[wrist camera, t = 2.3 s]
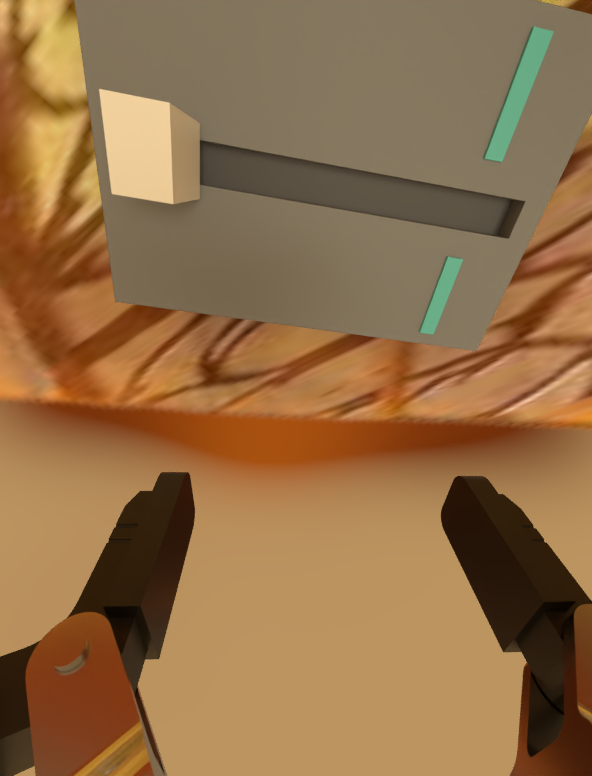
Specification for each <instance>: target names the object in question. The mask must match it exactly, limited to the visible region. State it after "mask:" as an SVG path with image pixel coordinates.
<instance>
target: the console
mask: <svg viewBox="0 0 592 776" xmlns="http://www.w3.org/2000/svg"><path fill="white" fill-rule="evenodd" d="M75 8H76V15H77V23H78V30H79V37H80V45H81V52H82V59H83V67H84V74H85V82H86V89H87V96H88V104H89V111H90V118H91V126H92V133H93V140H94V148H95V155H96V163H97V170H98V177H99V185H100V192H101V199H102V207H103V214H104V221H105V229H106V236H107V244H108V251H109V258H110V266H111V273H112V280H113V288H114V295H115V302H122V303H129V304H136V305H143V306H151V307H158V308H165V309H173V310H180V311H187V312H195V313H202V314H209V315H217V316H224V317H231V318H238V319H246V320H253V321H260V322H268V323H275V324H282V325H290V326H297V327H304V328H312V329H319V330H326V331H333V332H341V333H348V334H355V335H363V336H370V337H377V338H385V339H392V340H399V341H407V342H414V343H421V344H428V345H436V346H443V347H450V348H458V349H465V350H472V351H477V349H478V347H479V345H480V343H481V340H482V338H483V336H484V334H485V332H486V330H487V328H488V326H489V324H490V322H491V320H492V318H493V316H494V314H495V312H496V310H497V307H498V305H499V303H500V301H501V299H502V297H503V295H504V293H505V291H506V289H507V287H508V285H509V283H510V281H511V279H512V277H513V274H514V272H515V270H516V268H517V266H518V264H519V262H520V260H521V258H522V256H523V254H524V252H525V250H526V248H527V246H528V244H529V241H530V239H531V237H532V235H533V233H534V231H535V229H536V227H537V225H538V223H539V221H540V219H541V217H542V215H543V213H544V211H545V208H546V206H547V204H548V202H549V200H550V198H551V196H552V194H553V192H554V190H555V188H556V186H557V184H558V182H559V180H560V178H561V175H562V173H563V171H564V169H565V167H566V165H567V163H568V161H569V159H570V157H571V155H572V153H573V151H574V149H575V147H576V145H577V142H578V140H579V138H580V136H581V134H582V132H583V130H584V128H585V126H586V124H587V122H588V120H589V118H590V116H591V114H592V14H588V13H584V12H580V11H576V10H572V9H568V8H565V7H561V6H557V5H553V4H549V3H545V2H541V1H537V0H75ZM99 89H103V90H108V91H113V92H118V93H123V94H128V95H133V96H138V97H143V98H148V99H153V100H158V101H163V102H168V103H171V104H172V105H174V106H175V107H177V108H178V109H180V110H181V111H183V112H184V113H186V114H187V115H189V116H190V117H192V118H193V119H195V120H196V121H197V122H199V123H200V199H198V200H192V201H187V202H182V203H177V204H169V203H163V202H157V201H151V200H145V199H139V198H133V197H127V196H121V195H115V194H112V192H111V184H110V176H109V168H108V159H107V151H106V143H105V134H104V126H103V118H102V110H101V101H100V93H99Z"/></svg>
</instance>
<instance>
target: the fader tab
mask: <svg viewBox="0 0 592 776" xmlns="http://www.w3.org/2000/svg"><path fill="white" fill-rule="evenodd" d="M99 93H100V101H101V110H102V118H103V126H104V134H105V143H106V151H107V159H108V168H109V176H110V184H111V192H112V194H115V195H121V196H127V197H133V198H139V199H145V200H151V201H157V202H163V203H169V204H177V203H182V202H187V201H192V200H198V199H200V123H199V122H197V121H196V120H195V119H193V118H192V117H190V116H189V115H187V114H186V113H184V112H183V111H181V110H180V109H178V108H177V107H175V106H174V105H172V104H171V103H168V102H163V101H158V100H153V99H148V98H143V97H138V96H133V95H128V94H123V93H118V92H113V91H108V90H103V89H99Z"/></svg>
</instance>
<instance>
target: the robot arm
mask: <svg viewBox="0 0 592 776" xmlns="http://www.w3.org/2000/svg"><path fill="white" fill-rule="evenodd" d="M194 518H195V506H194V499H193V493H192V486H191V479H190V475H189V473H188V472H162V473H161V474H160V475H159V477H158V479H157V481H156V484H155V486H154V489H153V491H140V492H139V493H138V494H137V495H136V496H135V497H134V498H133V499H132V500H131V501H130V502H129V503H128V504H127V505H126V506H125V507H124V509H123V511H122V513H121V515H120V517H119V519H118V522H117V524H116V528H114V530H113V532H112V534H111V536H110V538H109V542H108V543H107V544H106V546H105V548H104V550H103V552H102V554H101V556H100V558H99V560H98V562H97V564H96V566H95V568H94V570H93V572H92V574H91V576H90V578H89V580H88V582H87V584H86V586H85V588H84V590H83V592H82V594H81V596H80V598H79V600H78V602H77V604H76V606H75V607H74V609H73V611H72V612H71V613H70V615H69V616H68V617H67V618H66V619H65V620H63V621H62V622H60V623H59V624H57V625H56V626H55V627H54V628H52V629H51V630H50V631H49V632H48V633H47V634H46V635H45V636H44V637H43V638H42V640H40V641H39V642H37V643H35V644H33V645H31V646H28V647H26V648H24V649H21V650H18V651H15V652H12V653H9V654H6V655H4V656H1V657H0V776H14V775H16V774H18V773H20V772H22V771H24V770H26V769H29V768H31V767H33V766H35V774H36V776H167V773H166V770H165V767H164V764H163V761H162V758H161V755H160V752H159V749H158V746H157V743H156V740H155V737H154V734H153V730H152V727H151V724H150V721H149V718H148V715H147V712H146V709H145V706H144V703H143V700H142V697H141V694H140V691H139V688H138V681H139V678H140V675H141V671H142V668H143V664H144V661H145V659H159V657H160V653H161V649H162V646H163V642H164V638H165V634H166V630H167V626H168V623H169V619H170V615H171V611H172V607H173V603H174V600H175V596H176V592H177V588H178V584H179V580H180V576H181V573H182V569H183V565H184V561H185V557H186V553H187V550H188V545H189V542H190V538H191V534H192V530H193V526H194ZM441 521H442V526H443V529H444V531H445V533H446V535H447V537H448V539H449V542H450V544H451V546H452V548H453V550H454V552H455V554H456V556H457V558H458V560H459V562H460V564H461V566H462V568H463V570H464V572H465V574H466V577H467V579H468V581H469V583H470V585H471V587H472V589H473V591H474V593H475V595H476V597H477V599H478V601H479V603H480V605H481V607H482V609H483V611H484V614H485V616H486V618H487V619H488V621H489V624H490V626H491V628H492V630H493V632H494V634H495V636H496V638H497V640H498V642H499V644H500V646H501V648H502V650H503V652H522V654H523V655H524V657H525V659H526V661H527V663H526V664H525V666H524V670H523V682H522V695H521V710H520V722H519V736H518V750H517V757H516V761H515V765H514V767H513V770H512V772H511V774H510V776H592V601H591V600H590V599H589V597H588V596H587V595H586V594H585V592H584V591H583V590H582V588H581V587H580V586H579V584H578V583H577V582H576V580H575V579H574V578H573V577H572V575H571V574H570V573H569V571H568V570H567V569H566V567H565V566H564V565H563V563H562V562H561V561H560V559H559V558H558V557H557V556H556V554H555V553H554V552H553V550H552V549H551V548H550V546H549V545H548V544H547V543H545V542H544V538H543V537H542V536H541V535H540V533H539V532H538V531H537V529H534V527H533V524H532V523H531V522H530V520H529V519H528V518H527V516H526V515H525V514H524V512H523V511H522V510H521V509H520V508H519V507H518V506H517V505H516V504H514V503H513V502H512V501H511V500H510V499H508V498H507V497H506V496H505V495H503V494H498V493H497V491H496V490H495V488H494V487H493V486H492V484H491V483H490V482H489V480H488V479H487V478H485V477H483V476H457V477H456V478H455V479H454V480H453V483H452V485H451V488H450V490H449V492H448V495H447V498H446V500H445V503H444V505H443V507H442V510H441Z"/></svg>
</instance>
